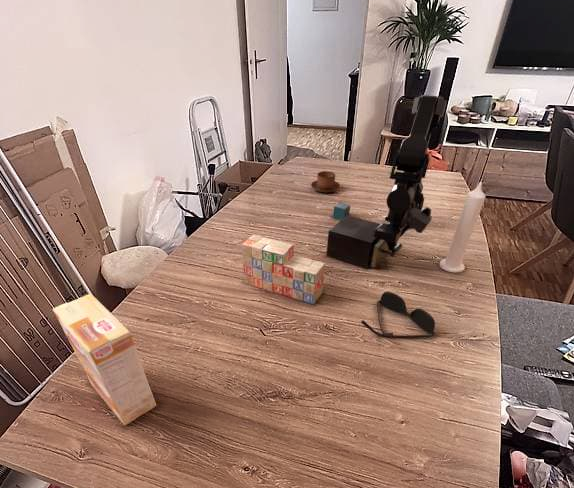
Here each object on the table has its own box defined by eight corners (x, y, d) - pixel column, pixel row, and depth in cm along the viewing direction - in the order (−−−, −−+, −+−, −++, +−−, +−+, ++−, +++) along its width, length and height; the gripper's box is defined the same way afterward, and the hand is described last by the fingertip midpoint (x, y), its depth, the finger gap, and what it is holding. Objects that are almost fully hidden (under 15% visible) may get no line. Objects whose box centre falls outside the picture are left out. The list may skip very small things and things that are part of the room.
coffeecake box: (89, 383, 77) (50, 308, 64) (122, 365, 81) (91, 291, 68) (123, 427, 69) (87, 352, 56) (158, 405, 73) (131, 330, 60)
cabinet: (382, 251, 119) (387, 225, 113) (366, 269, 111) (371, 242, 105) (344, 239, 124) (347, 215, 119) (326, 256, 116) (328, 230, 111)
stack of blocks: (322, 293, 102) (326, 252, 93) (313, 305, 98) (316, 264, 89) (255, 272, 109) (253, 233, 101) (243, 283, 105) (240, 243, 97)
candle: (465, 274, 109) (498, 188, 93) (440, 271, 110) (468, 185, 94) (462, 261, 115) (492, 178, 98) (438, 259, 116) (464, 176, 99)
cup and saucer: (307, 185, 160) (307, 170, 156) (333, 183, 163) (334, 168, 159) (317, 196, 151) (317, 180, 147) (344, 193, 154) (345, 177, 150)
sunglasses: (344, 323, 92) (346, 307, 89) (381, 301, 99) (385, 285, 96) (399, 361, 83) (404, 345, 79) (436, 334, 90) (442, 318, 86)
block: (338, 213, 139) (339, 202, 136) (349, 216, 138) (350, 205, 135) (332, 218, 137) (333, 206, 134) (343, 221, 135) (345, 209, 132)
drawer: (402, 255, 115) (407, 234, 111) (388, 272, 108) (393, 251, 104) (352, 240, 122) (355, 221, 118) (336, 255, 115) (338, 235, 110)
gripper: (420, 217, 91) (406, 273, 101) (442, 193, 102) (428, 245, 113) (378, 207, 95) (368, 261, 106) (403, 184, 107) (392, 235, 117)
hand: (391, 250), depth 110 cm, fingers closed
